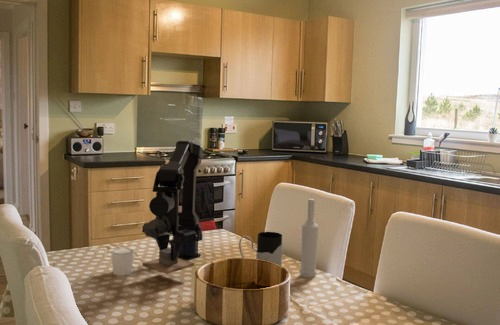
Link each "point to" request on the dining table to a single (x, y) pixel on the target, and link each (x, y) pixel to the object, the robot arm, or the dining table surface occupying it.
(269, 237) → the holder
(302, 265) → the bottle
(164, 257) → the walnut lid
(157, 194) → the robot arm
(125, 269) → the white cup
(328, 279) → the dining table surface
